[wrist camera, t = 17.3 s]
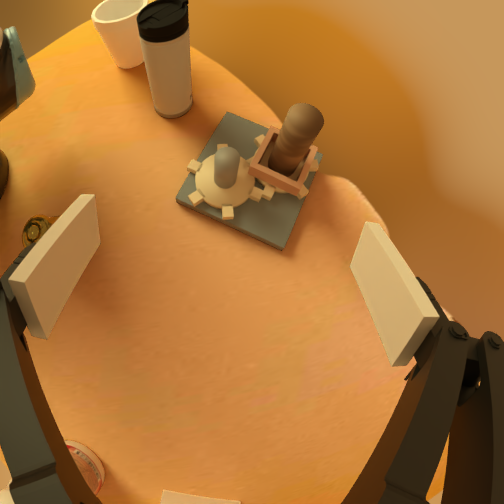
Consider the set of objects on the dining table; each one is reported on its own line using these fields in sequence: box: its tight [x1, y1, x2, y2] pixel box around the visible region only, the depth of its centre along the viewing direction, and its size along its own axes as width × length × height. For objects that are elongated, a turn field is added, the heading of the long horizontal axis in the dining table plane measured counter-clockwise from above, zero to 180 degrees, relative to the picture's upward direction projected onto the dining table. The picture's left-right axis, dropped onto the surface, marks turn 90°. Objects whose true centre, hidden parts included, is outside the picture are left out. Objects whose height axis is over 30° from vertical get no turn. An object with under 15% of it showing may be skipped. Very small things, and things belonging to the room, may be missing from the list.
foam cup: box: [91, 0, 149, 69], centre depth 41 cm, size 10×9×13 cm
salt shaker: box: [22, 215, 60, 248], centre depth 35 cm, size 7×8×10 cm
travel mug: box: [136, 0, 193, 118], centre depth 37 cm, size 6×7×20 cm
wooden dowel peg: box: [268, 103, 324, 177], centre depth 37 cm, size 4×4×12 cm
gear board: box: [176, 112, 323, 251], centre depth 41 cm, size 16×16×9 cm
